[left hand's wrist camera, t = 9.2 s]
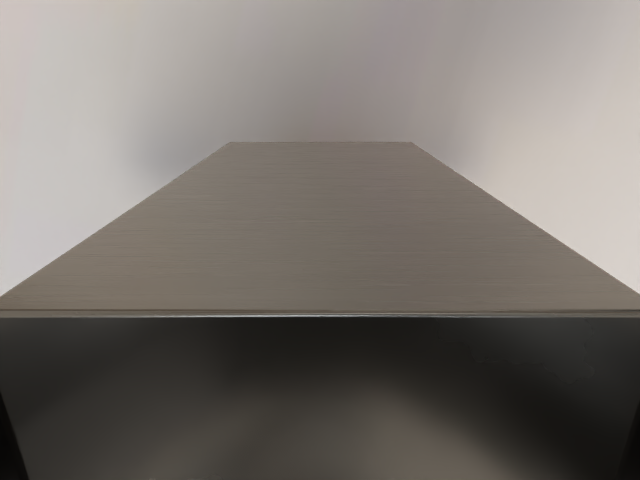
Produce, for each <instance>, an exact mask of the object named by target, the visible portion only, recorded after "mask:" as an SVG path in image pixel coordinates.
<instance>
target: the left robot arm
mask: <svg viewBox="0 0 640 480" xmlns="http://www.w3.org/2000/svg"><path fill="white" fill-rule="evenodd" d="M0 480H28V479H27V476H26V473H25V469H24V466H23V463H22V460H21V457H20V453H19V450H18V447H17V444H16V440H15V437H14V434H13V431H12V428H11V424H10V421H9V418H8V415H7V411H6V408H5V405H4V402H3V399H2V395H1V392H0ZM615 480H640V402H639V405H638V409H637V412H636V415H635V418H634V421H633V425H632V428H631V431H630V434H629V437H628V441H627V444H626V447H625V450H624V453H623V457H622V460H621V463H620V466H619V469H618V473H617V476H616V479H615Z"/></svg>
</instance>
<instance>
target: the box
mask: <svg viewBox="0 0 640 480" xmlns="http://www.w3.org/2000/svg"><path fill="white" fill-rule="evenodd" d="M0 392H1V395H2V399H3V402H4V405H5V408H6V411H7V415H8V418H9V421H10V424H11V428H12V431H13V434H14V437H15V440H16V444H17V447H18V450H19V453H20V457H21V460H22V463H23V466H24V469H25V473H26V476H27V479H28V480H615V479H616V476H617V473H618V469H619V466H620V463H621V460H622V457H623V453H624V450H625V447H626V444H627V441H628V437H629V434H630V431H631V428H632V425H633V421H634V418H635V415H636V412H637V409H638V405H639V402H640V294H639V293H637V292H635V291H634V290H632V289H631V288H629V287H628V286H626V285H625V284H623V283H622V282H620V281H619V280H617V279H616V278H614V277H613V276H611V275H610V274H608V273H607V272H605V271H604V270H602V269H601V268H599V267H598V266H596V265H595V264H593V263H592V262H590V261H589V260H587V259H586V258H584V257H583V256H581V255H580V254H578V253H577V252H575V251H574V250H572V249H571V248H569V247H568V246H566V245H565V244H563V243H562V242H560V241H559V240H557V239H556V238H554V237H553V236H551V235H550V234H548V233H547V232H545V231H544V230H542V229H541V228H539V227H538V226H536V225H535V224H533V223H532V222H530V221H529V220H527V219H526V218H524V217H523V216H521V215H520V214H518V213H517V212H515V211H514V210H512V209H511V208H509V207H508V206H506V205H505V204H503V203H502V202H500V201H499V200H497V199H496V198H494V197H493V196H491V195H490V194H488V193H487V192H485V191H484V190H482V189H481V188H479V187H478V186H476V185H475V184H473V183H472V182H470V181H469V180H467V179H466V178H464V177H463V176H461V175H460V174H458V173H457V172H455V171H454V170H452V169H451V168H449V167H448V166H446V165H445V164H443V163H442V162H440V161H439V160H437V159H436V158H434V157H433V156H431V155H430V154H428V153H427V152H425V151H424V150H422V149H421V148H419V147H418V146H416V145H415V144H413V143H412V142H230V143H228V144H226V145H225V146H223V147H222V148H220V149H219V150H217V151H216V152H215V153H213V154H212V155H210V156H209V157H207V158H206V159H204V160H203V161H201V162H200V163H198V164H197V165H195V166H194V167H192V168H191V169H189V170H188V171H186V172H185V173H183V174H182V175H180V176H179V177H177V178H176V179H174V180H173V181H171V182H170V183H168V184H167V185H165V186H164V187H162V188H161V189H160V190H158V191H157V192H155V193H154V194H152V195H151V196H149V197H148V198H146V199H145V200H143V201H142V202H140V203H139V204H137V205H136V206H134V207H133V208H131V209H130V210H128V211H127V212H125V213H124V214H122V215H121V216H119V217H118V218H116V219H115V220H113V221H112V222H110V223H109V224H107V225H106V226H104V227H103V228H102V229H100V230H99V231H97V232H96V233H94V234H93V235H91V236H90V237H88V238H87V239H85V240H84V241H82V242H81V243H79V244H78V245H76V246H75V247H73V248H72V249H70V250H69V251H67V252H66V253H64V254H63V255H61V256H60V257H58V258H57V259H55V260H54V261H52V262H51V263H49V264H48V265H46V266H45V267H44V268H42V269H41V270H39V271H38V272H36V273H35V274H33V275H32V276H30V277H29V278H27V279H26V280H24V281H23V282H21V283H20V284H18V285H17V286H15V287H14V288H12V289H11V290H9V291H8V292H6V293H5V294H3V295H2V296H0Z"/></svg>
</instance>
